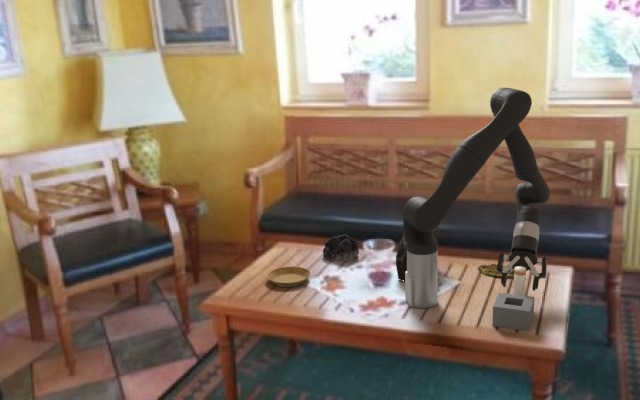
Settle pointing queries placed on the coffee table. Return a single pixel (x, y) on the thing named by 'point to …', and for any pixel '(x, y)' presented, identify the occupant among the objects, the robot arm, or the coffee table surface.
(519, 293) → the dowel
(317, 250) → the coffee table surface
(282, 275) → the plant saucer
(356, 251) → the crystal cluster
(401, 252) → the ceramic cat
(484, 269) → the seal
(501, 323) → the hole block
